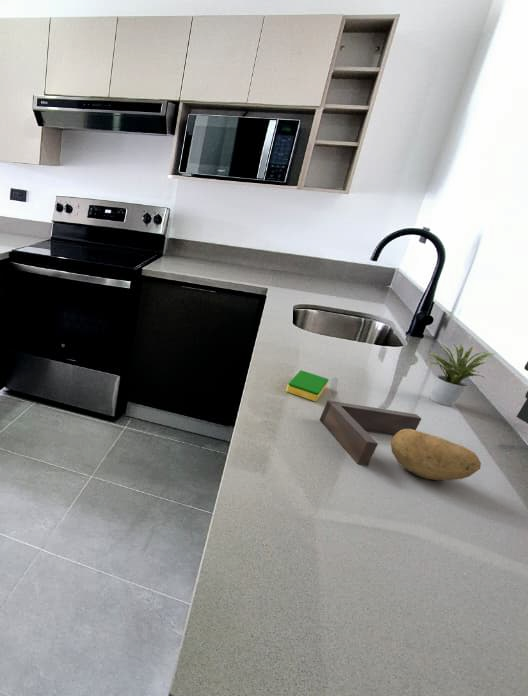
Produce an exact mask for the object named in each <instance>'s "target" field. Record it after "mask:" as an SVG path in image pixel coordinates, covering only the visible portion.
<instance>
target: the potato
mask: <svg viewBox="0 0 528 696" xmlns="http://www.w3.org/2000/svg"><path fill="white" fill-rule="evenodd" d="M390 449H391V453H392V454H393V456H394V458H395V459H396V461H397V463H398V464H399V465H401V467H403V468H404V469H406V470H407V471H409V473H412V474H414V475H416V476H418V477H420V478H423V479H426V480H432V481H457V480H462V479H463V480H464V479H466V478H469V477H471V476H472V475H474V474H475V473H477V472H478V471H479V470H481V467H482V462H481V460H480V458H479V457H478V456H477V453H476V452H474V451H473V450H471V449H469V448H467V447H466V446H464V445H462V444H461V445H460V444H458V443H454V442H453V441H450V440H447V439H444V438H442V437H440V436H437V435H433V434H429V433H426V432H423V431H420V430H417V429H416V430H413V429H403V430H400V431H399V432H397V433H396V434H395V435H392V439H391V441H390Z"/></svg>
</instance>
